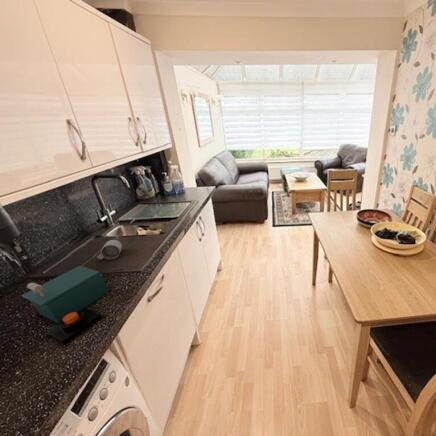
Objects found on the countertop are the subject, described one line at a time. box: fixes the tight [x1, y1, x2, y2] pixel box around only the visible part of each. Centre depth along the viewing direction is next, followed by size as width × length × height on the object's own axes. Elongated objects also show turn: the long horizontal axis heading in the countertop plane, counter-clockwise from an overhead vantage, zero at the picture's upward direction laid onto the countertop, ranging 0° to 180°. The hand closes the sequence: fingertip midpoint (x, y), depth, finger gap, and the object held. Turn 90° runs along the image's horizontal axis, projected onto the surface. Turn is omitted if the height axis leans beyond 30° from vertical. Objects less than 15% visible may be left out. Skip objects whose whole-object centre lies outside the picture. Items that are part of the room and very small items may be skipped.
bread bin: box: [29, 273, 110, 324], centre depth 89 cm, size 17×13×9 cm
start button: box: [63, 312, 79, 324], centre depth 78 cm, size 4×4×2 cm
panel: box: [46, 307, 102, 345], centre depth 79 cm, size 11×9×4 cm
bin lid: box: [21, 265, 101, 306], centre depth 86 cm, size 18×13×5 cm
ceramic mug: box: [97, 239, 123, 261], centre depth 118 cm, size 11×8×8 cm
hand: (23, 270), depth 77 cm, fingers open, 8 cm apart
